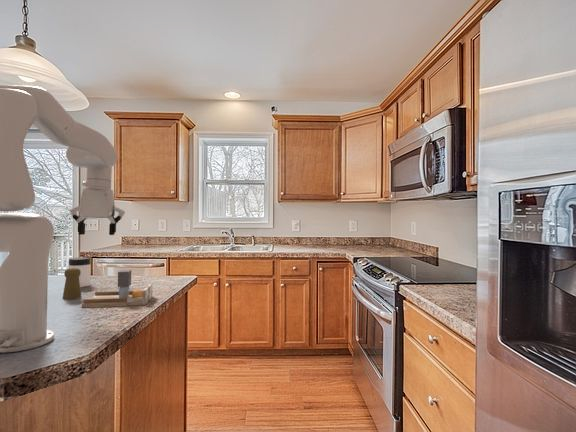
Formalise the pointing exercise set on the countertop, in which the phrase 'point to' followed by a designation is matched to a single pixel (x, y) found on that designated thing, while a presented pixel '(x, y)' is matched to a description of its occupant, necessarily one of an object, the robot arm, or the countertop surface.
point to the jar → (82, 269)
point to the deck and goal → (117, 299)
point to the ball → (137, 294)
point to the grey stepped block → (124, 283)
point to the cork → (72, 284)
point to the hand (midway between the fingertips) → (96, 234)
